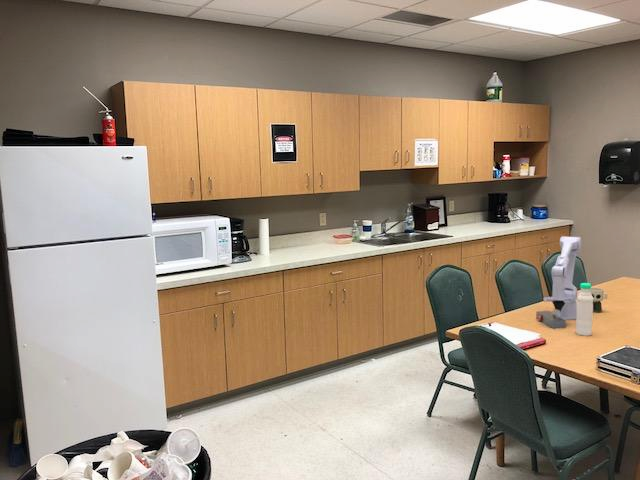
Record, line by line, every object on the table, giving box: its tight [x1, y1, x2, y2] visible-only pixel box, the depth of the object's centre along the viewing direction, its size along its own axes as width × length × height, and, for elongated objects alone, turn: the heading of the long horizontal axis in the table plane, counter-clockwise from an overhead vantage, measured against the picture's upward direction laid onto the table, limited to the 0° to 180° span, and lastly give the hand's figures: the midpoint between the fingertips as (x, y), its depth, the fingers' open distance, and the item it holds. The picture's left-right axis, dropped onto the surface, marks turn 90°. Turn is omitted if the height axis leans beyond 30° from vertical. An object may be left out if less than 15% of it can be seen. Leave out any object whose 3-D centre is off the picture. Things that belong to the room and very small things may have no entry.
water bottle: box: [575, 282, 594, 337], centre depth 250 cm, size 7×7×25 cm
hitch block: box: [535, 310, 567, 329], centre depth 270 cm, size 7×18×5 cm, turn 1°
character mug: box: [590, 287, 608, 313], centre depth 289 cm, size 11×7×13 cm, turn 53°
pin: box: [536, 315, 542, 322], centre depth 274 cm, size 11×3×3 cm, turn 91°
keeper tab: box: [553, 307, 560, 317], centre depth 265 cm, size 1×5×4 cm, turn 2°
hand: (557, 314), depth 265 cm, fingers closed, pressing on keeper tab
